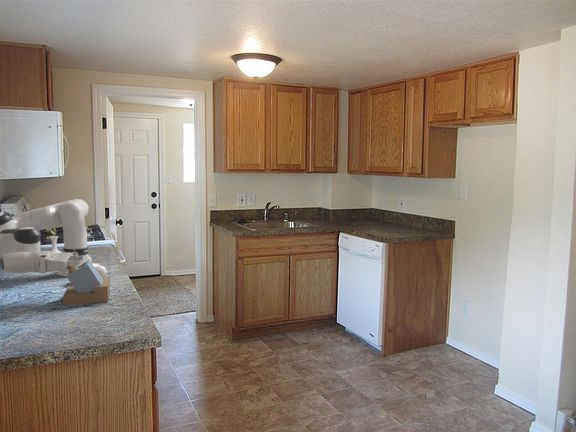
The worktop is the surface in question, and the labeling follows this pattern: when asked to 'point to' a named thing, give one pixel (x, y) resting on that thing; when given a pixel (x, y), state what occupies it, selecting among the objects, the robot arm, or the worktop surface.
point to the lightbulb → (101, 271)
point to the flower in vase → (53, 242)
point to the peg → (72, 268)
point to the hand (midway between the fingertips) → (81, 260)
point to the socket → (86, 286)
